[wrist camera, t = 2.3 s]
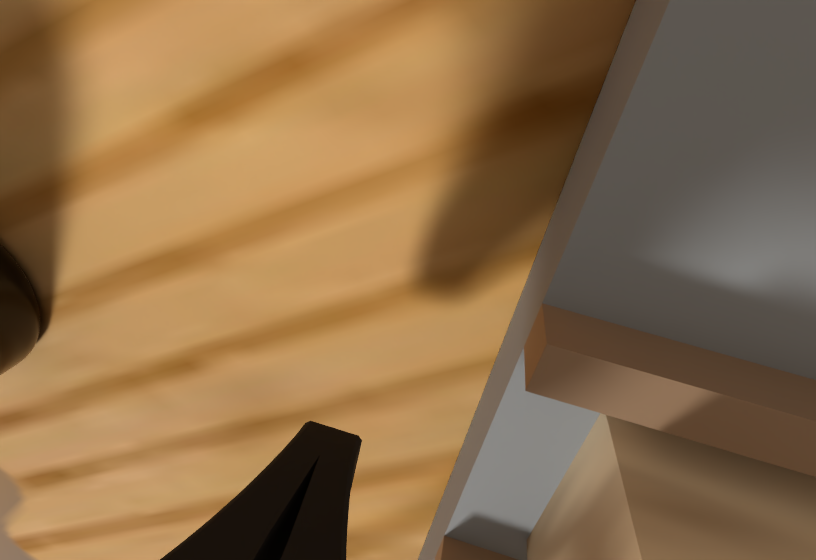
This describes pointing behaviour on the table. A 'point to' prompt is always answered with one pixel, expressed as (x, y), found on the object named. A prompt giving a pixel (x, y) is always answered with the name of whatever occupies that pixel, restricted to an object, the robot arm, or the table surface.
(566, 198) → the board
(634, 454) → the maple block
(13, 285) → the supplement bottle
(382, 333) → the table surface
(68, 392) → the table surface
